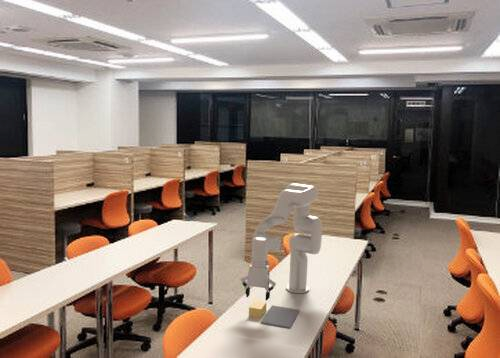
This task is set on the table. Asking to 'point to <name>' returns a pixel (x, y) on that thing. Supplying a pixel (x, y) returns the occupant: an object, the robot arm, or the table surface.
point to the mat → (280, 316)
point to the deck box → (257, 309)
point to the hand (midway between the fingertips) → (257, 297)
